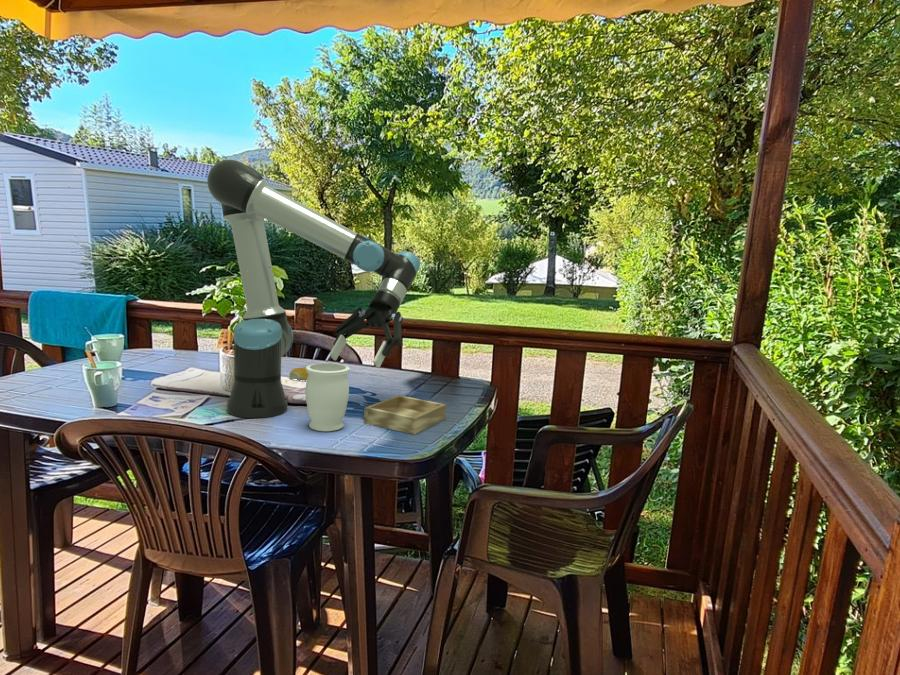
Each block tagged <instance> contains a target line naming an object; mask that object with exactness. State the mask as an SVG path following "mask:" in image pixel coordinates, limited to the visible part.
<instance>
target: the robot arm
mask: <svg viewBox="0 0 900 675" xmlns="http://www.w3.org/2000/svg"><path fill="white" fill-rule="evenodd" d="M206 182H207V188H208V190H209V193H210V194H211V196H212V197H213V198H214V199H215V200H216V202H218V203H220V206H221V210H222V215H223V216H222V217H223V218H224V220H226V221H227V222H228V223H229V224H230V227H231V231H232V236H233V243H234V247H235V252H236V253H235V254H236V258H237V262H238V268H239V274H240V278H241V284H242V290H243V294H244V299H245V306H246V312H245V313H244V314H243V315H242V319H243V320H242V321H240V322H238V323H237V324H235V326H234V332H233V369H234V370H233V375H234V376H233V385H232V386H231V387H232V388H231V390H230V395H229V399H227V402H226V412H227V413H228V414H229V415H230V416H231V415H232V416H233V417H239V418H248V419H249V418H250V419H254V418H255V419H258V418H269V417H274V416H279V415H283V414H284V413H285V412H287V411H288V399H287V397H286V396H285V395H286V394H285V390H284V387H283V384H282V383H283V382H282V379H281V378H282V358H283V357H284V356H286V354H288V353H289V351H290V349H291V348H292V345H293V342H294V333H293V328H292V327H291V326H290V324H289V323H288V317H287V311H286V310H285V309H284V308H283V307H281V305H280V304H279V299H278V298H279V297H278V292H277V288H276V283H275V277H274V276H275V275H274V271H273V272H272V270H273V265H272V260H271V254H270V249H269V244H268V237H267V232H266V228H265V222H264V219H265V220H268V221H270V222H272V223H273V224H275V225H277V226H279V227H281V228H283V229H285V230H287V231H289V232H291V233H293V234H295V235H296V236H298V237H300V238H303V239H304V240H307V241H308V242H311V243H312V244H315V245H316V246H318V247H320V248H322V249H324V250H326V251H328V252H330V253H332V254H334V255H336V256H338V257H339V258H341V259H343V260H345V261H347V262H349V263H350V264H353V265H355V266H356V267H358V268H359V270H362V271H364V272H373V273H374V274H377V275H379V277H382V278H383V279H382V281H381V283H380V284H379V286H378V287H377V290H376V292H375V293H374V295H373V297H372V298H371V300H370V303H369V307H368V308H367V309H362V307H360V306H358V307H357V308H356V310H355V311H354V312H353V313H352V314H351V315H350V316H348V317H347V318H346V319H345V320H343V322H341V323H340V324H339V325H337V327H336V328H334V329H333V332H334V333H335V335H336V338H335V340H334V342H333V347H332V349H331V350H330V352H329V356H330V357H331V359H332V361H337V359H338V358H339V356H340V354H341V352H342V351H343V349H344V347H345V345H346V343H347V342H348V340H347V339H348V338H350V337H351V336H354V335H355V334H356V333H358V332H360V331H362V330H363V329H368V328H369V327H370V328H377V329H380V328H381V327H382V330H383V333H384V336H385V339H386V340H382V343H381V345H380V347H379V348H378V351H377V353H376V355H375V356H374V358H373V360H372V363H373V364H374V366H375V367H376V368H377V369H380V368H381V365H382V364H383V362H384V360H385V358H386V357H388V356H389V355H390V352H391V351H392V349H393V348H394V347H395V346H397V347H401V346H402V345H403V344H402V343H403V342H402V323H403V321H404V320H403V319H404V317H403V315H402V313H401V312H400V311H398V310H399V308H400V306H401V304H402V303H403V300H404V299H405V297H406V295H407V293H408V291H409V290H410V288H411V286H412V284H413V282H414V281H415V279H416V277H417V275H418V272H419V270H420V269H421V268H420V267H421V262H420V258H419V257H418V256H417V255H415V254H414V253H413V252H410V251H407V250H401V251H400V252H398V253H395V252H393V251H391V250H390V249H388V248H386V247H385V246H384V245H382V244H380V243H378V242H377V241H375V240H374V239H372V238H371V237H369V236H366V235H365V234H360V233H358V232H356V231H354V230H352V229H350V228H349V227H346V226H345V225H343V224H340V223H339V222H337V221H336V220H333V219H331V218H330V217H328V216H326V215H324V214H322V213H321V212H318V211H316V210H315V209H313V208H311V207H308V206H306V205H305V204H304V203H301V202H299V201H297V200H296V199H293V198H292V197H289V196H288V195H286V194H284V193H282V192H280V191H278V190H276V189H275V188H272V187H271V186H269V185H268V183H267V180H266V179H264V177H263V176H262V175H261V173H260V172H259V171H258V170H257V169H256V168H253V167H252V166H249V165H248V164H245V163H243V162H241V161H239V160H235V159H224V160H221V161H218V162H217V163H215V164H214V165H213V166H212V167H211V168H210V170H209V171H208V174H207V181H206ZM269 267H271V268H269ZM246 271H248V272H246ZM276 292H277V293H276ZM365 321H366V322H365ZM392 321H393V336H392V332H391V331H390V327H389V326H390V325H389V323H390V322H392Z"/></svg>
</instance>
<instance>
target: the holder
mask: <svg viewBox="0 0 900 675" xmlns="http://www.w3.org/2000/svg"><path fill="white" fill-rule="evenodd" d="M363 410H364V414H363V423H364V424H367V425H371V426H376V427H380V428H385V429H388V430H393V431H396V432H397V431H398V432H401V433H406V434H410V435H414V436H415V435H417V434H418V433H421V432H423V431H425V430H427V429H429V428H431V427H433V426H434V425H436V424H439V423H441V422H443V421H445V420H446V418H447V417H446V415H447V404H445V403H440V402H436V401H430V400H425V399H420V398H415V397H409V396H405V395H400V394H398V395H396V396H392V397H389V398H388V399H385V400H382V401H379V402H377V403H374V404H373V403H372V404H371V405H368V406H365V407H364V408H363Z"/></svg>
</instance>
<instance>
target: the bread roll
mask: <svg viewBox="0 0 900 675" xmlns="http://www.w3.org/2000/svg"><path fill="white" fill-rule="evenodd" d="M306 367H307V366H306ZM306 367H296V368H293V369H292V370H290V372H289V376H288V377H289V379H290V378H291V379H290V380H292V379H297V380H307V377H308V373H307V372H306Z"/></svg>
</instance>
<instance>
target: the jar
mask: <svg viewBox="0 0 900 675" xmlns="http://www.w3.org/2000/svg"><path fill="white" fill-rule="evenodd" d="M306 372H307V373H308V377H307V381H305V401H306V409H307V413H308V416H309V417H308V418H310V422H309V424H308V426H309V428H310V429H311V430H314V431H317V432H335V431H338V430H340V429H342V428H344V426H345V424H344V422H343V419H344V418H345V414H346V412H347V406H348V402H349V394H350V388H349V387H350V384H349V378H348V375H349V373H350V367H349V366H347V365H344V364H340V363H329V362H328V363H327V362H326V363H325V362H324V363H314V364H310V365H307V366H306Z"/></svg>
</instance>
